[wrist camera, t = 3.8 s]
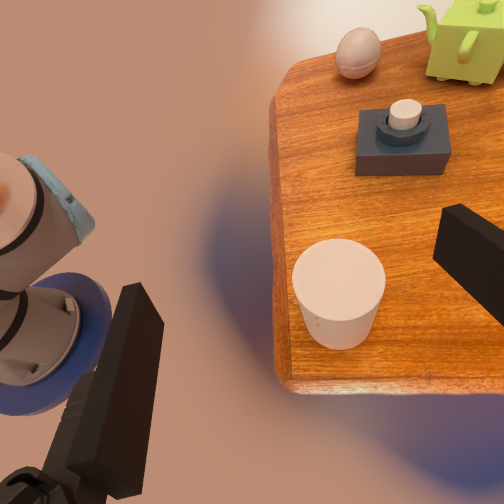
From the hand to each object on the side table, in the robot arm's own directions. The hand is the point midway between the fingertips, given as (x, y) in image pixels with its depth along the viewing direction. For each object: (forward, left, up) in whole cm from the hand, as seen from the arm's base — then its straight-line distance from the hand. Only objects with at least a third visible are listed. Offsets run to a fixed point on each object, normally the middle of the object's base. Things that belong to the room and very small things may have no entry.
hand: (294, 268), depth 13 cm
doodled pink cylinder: (+1, +6, -26) cm, 27 cm away
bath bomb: (+1, +55, -26) cm, 61 cm away
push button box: (+8, +34, -26) cm, 44 cm away
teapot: (+19, +53, -26) cm, 62 cm away
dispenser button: (+8, +34, -20) cm, 41 cm away
